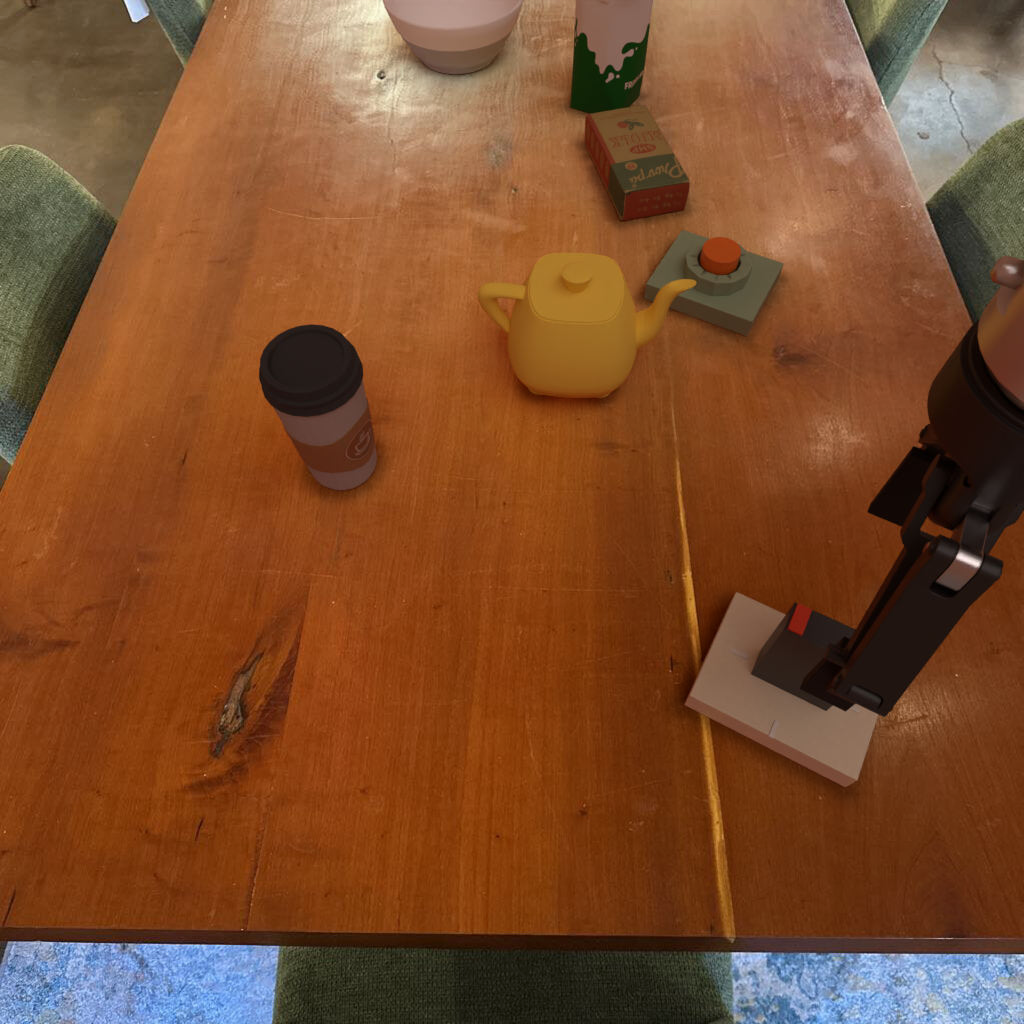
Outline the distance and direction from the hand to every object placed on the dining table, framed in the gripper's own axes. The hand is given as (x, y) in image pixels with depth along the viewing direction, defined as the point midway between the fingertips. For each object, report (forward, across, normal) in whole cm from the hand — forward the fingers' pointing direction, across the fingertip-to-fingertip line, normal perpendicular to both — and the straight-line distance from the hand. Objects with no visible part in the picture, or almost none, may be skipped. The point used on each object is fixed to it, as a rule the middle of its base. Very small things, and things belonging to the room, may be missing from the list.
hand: (858, 600), depth 47 cm
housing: (+17, -40, -22) cm, 48 cm away
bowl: (+18, -68, -72) cm, 100 cm away
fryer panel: (+17, 0, 0) cm, 17 cm away
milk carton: (+17, -67, -48) cm, 84 cm away
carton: (+17, -54, -38) cm, 68 cm away
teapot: (+17, -23, -30) cm, 41 cm away
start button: (+13, -40, -22) cm, 47 cm away
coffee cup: (+17, -1, -44) cm, 47 cm away
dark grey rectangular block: (+14, 0, 0) cm, 14 cm away
